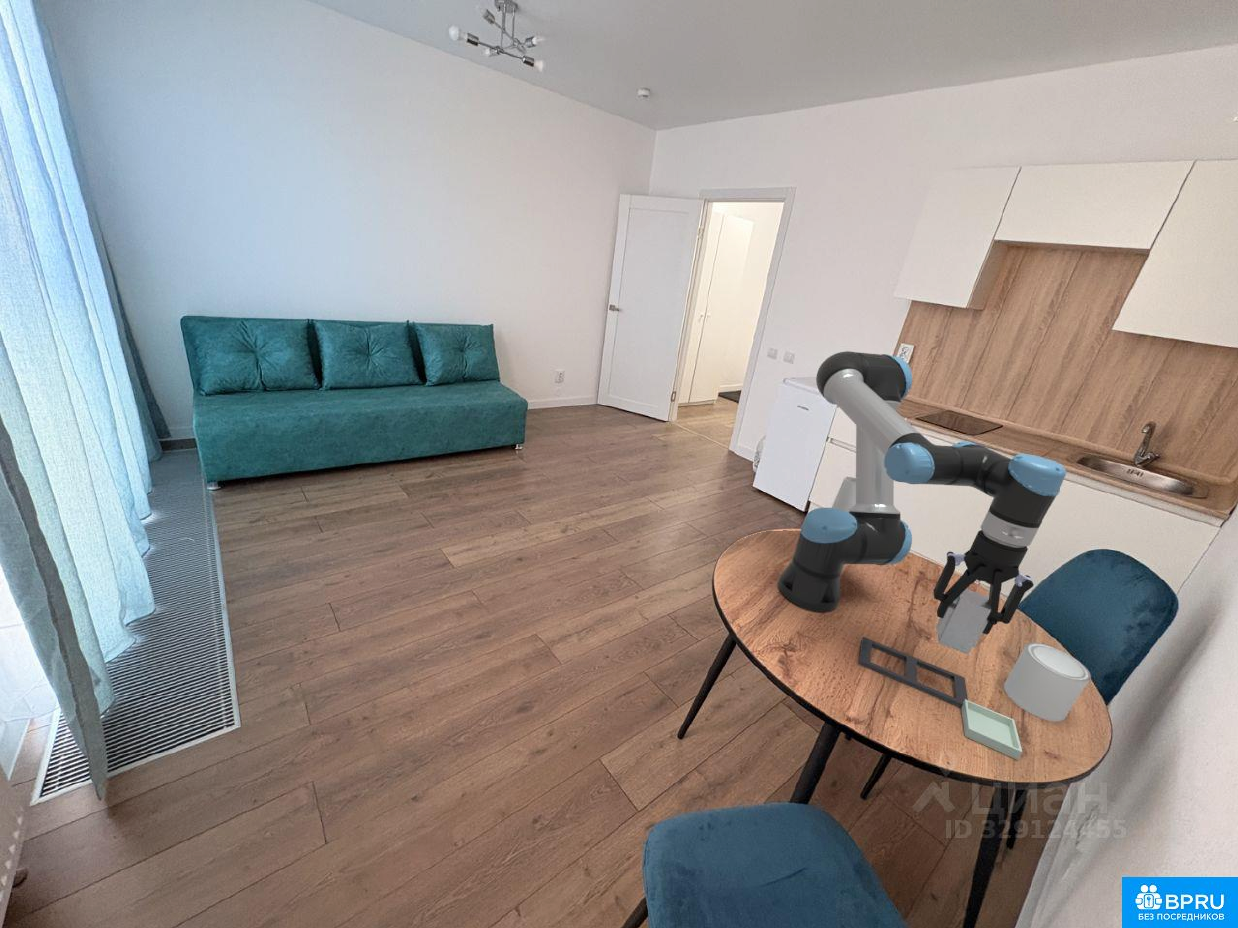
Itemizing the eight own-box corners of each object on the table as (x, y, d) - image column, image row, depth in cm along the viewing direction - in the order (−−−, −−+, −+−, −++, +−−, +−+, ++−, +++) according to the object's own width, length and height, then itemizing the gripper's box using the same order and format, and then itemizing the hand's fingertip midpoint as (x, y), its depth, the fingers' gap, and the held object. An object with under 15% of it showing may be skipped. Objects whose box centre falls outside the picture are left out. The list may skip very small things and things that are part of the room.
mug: (996, 663, 107) (1016, 626, 103) (1052, 683, 103) (1075, 646, 99) (1009, 705, 95) (1032, 666, 91) (1072, 730, 91) (1099, 690, 87)
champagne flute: (836, 545, 150) (859, 476, 141) (845, 556, 144) (869, 485, 135) (815, 542, 150) (837, 474, 141) (824, 554, 143) (846, 483, 135)
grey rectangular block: (938, 643, 94) (960, 598, 90) (937, 628, 98) (957, 586, 94) (968, 654, 92) (991, 609, 88) (965, 639, 96) (987, 596, 92)
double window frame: (858, 663, 102) (859, 660, 101) (861, 639, 109) (862, 636, 109) (967, 710, 93) (969, 706, 93) (962, 680, 100) (964, 677, 100)
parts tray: (964, 736, 87) (969, 728, 87) (961, 706, 94) (964, 698, 93) (1017, 759, 84) (1022, 752, 83) (1009, 727, 90) (1014, 719, 90)
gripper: (947, 529, 87) (904, 627, 96) (1072, 565, 79) (1012, 669, 88) (945, 514, 93) (904, 607, 102) (1060, 546, 85) (1005, 645, 94)
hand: (954, 636), depth 95 cm, fingers closed on grey rectangular block, 5 cm apart
